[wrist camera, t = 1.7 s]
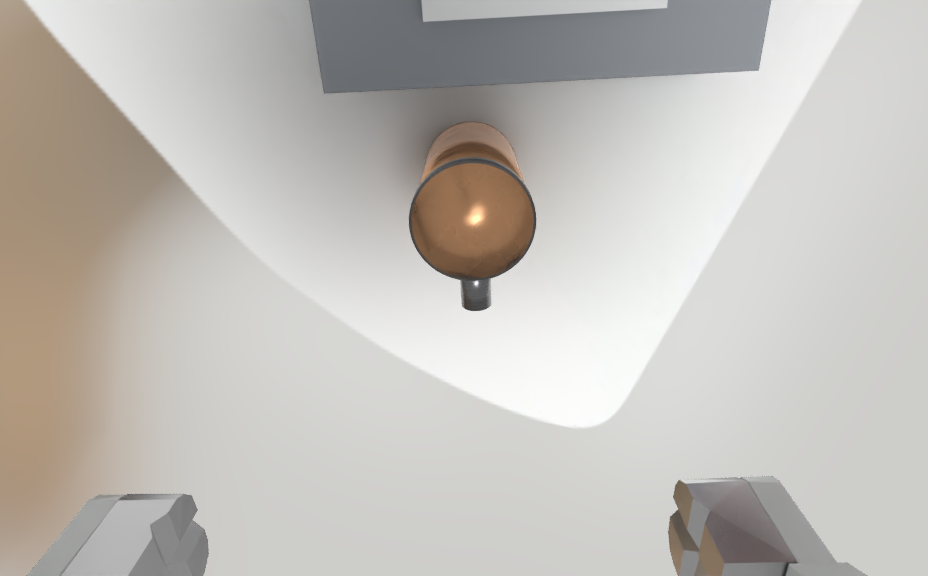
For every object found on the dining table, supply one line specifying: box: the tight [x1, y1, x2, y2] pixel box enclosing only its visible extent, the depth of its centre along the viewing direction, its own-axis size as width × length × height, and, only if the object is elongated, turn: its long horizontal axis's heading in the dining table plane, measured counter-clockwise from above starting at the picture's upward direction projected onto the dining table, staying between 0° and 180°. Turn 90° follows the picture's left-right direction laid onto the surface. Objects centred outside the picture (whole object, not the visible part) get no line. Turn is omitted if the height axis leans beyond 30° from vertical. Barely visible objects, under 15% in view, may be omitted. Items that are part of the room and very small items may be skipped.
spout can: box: [409, 122, 536, 311], centre depth 27 cm, size 7×5×9 cm
